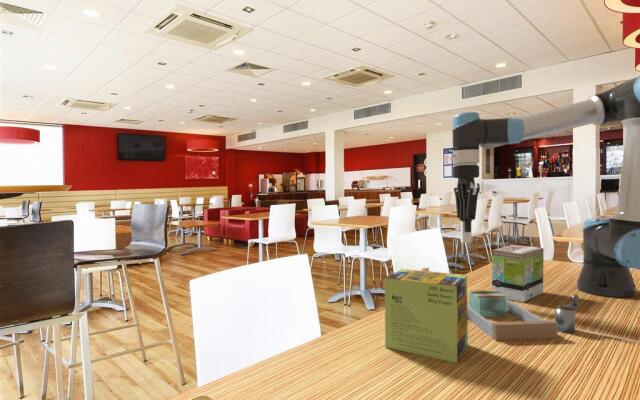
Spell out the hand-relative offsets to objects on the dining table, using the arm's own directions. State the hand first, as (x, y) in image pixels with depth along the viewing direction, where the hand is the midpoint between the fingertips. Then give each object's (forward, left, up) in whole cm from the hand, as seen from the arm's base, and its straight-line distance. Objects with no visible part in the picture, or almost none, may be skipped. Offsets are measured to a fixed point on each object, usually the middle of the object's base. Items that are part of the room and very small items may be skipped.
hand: (466, 242), depth 116 cm
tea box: (-17, -2, -18) cm, 25 cm away
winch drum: (-12, +27, -17) cm, 34 cm away
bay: (0, +20, -17) cm, 26 cm away
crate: (0, +13, -17) cm, 22 cm away
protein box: (+23, +33, -18) cm, 44 cm away
